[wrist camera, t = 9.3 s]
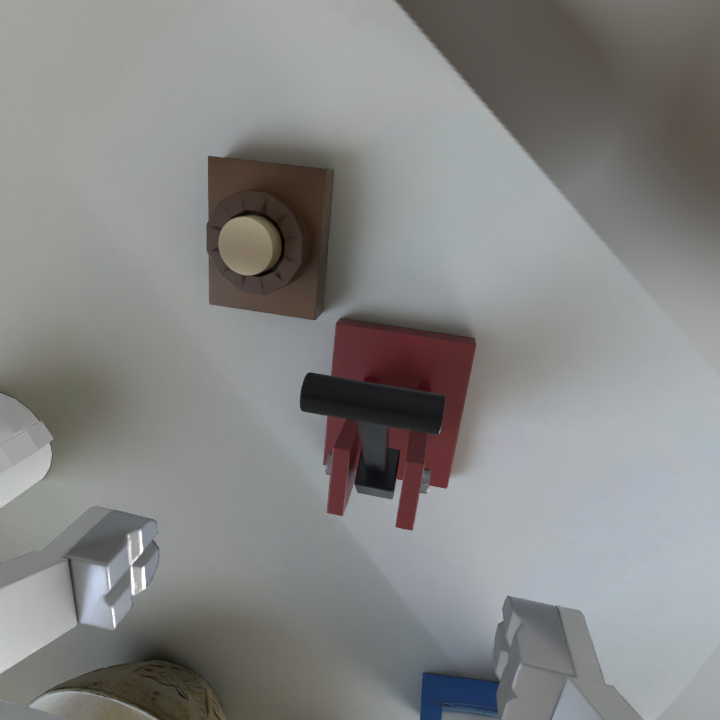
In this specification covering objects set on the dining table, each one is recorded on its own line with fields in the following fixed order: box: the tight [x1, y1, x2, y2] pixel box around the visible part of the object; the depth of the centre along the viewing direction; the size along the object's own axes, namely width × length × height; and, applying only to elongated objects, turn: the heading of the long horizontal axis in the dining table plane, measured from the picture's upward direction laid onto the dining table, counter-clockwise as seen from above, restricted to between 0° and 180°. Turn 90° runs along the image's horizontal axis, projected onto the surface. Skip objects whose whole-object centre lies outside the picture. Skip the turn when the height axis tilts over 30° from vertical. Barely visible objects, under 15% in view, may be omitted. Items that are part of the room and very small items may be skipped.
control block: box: [207, 156, 334, 320], centre depth 33 cm, size 10×8×4 cm
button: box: [218, 215, 282, 276], centre depth 31 cm, size 4×4×2 cm
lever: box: [300, 373, 445, 499], centre depth 23 cm, size 14×5×2 cm
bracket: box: [323, 318, 476, 530], centre depth 32 cm, size 12×10×12 cm
